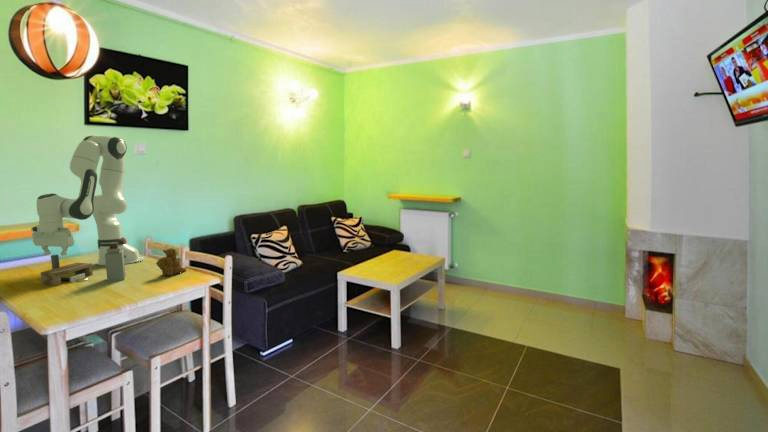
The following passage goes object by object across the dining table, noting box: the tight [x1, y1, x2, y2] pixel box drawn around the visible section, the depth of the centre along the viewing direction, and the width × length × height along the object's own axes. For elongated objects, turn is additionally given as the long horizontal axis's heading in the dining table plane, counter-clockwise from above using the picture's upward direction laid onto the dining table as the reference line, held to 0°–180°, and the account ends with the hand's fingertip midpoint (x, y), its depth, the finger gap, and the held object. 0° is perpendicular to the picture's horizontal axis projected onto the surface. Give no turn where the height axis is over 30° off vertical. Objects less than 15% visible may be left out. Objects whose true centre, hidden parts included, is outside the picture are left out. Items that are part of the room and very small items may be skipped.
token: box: [76, 277, 89, 283], centre depth 191 cm, size 4×4×1 cm
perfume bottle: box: [105, 243, 127, 283], centre depth 192 cm, size 7×7×18 cm
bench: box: [40, 262, 94, 286], centre depth 192 cm, size 9×18×6 cm, turn 170°
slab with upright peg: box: [50, 254, 86, 283], centre depth 191 cm, size 14×7×12 cm, turn 80°
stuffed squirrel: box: [155, 247, 188, 277], centre depth 202 cm, size 10×14×13 cm
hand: (55, 254), depth 192 cm, fingers open, 8 cm apart
